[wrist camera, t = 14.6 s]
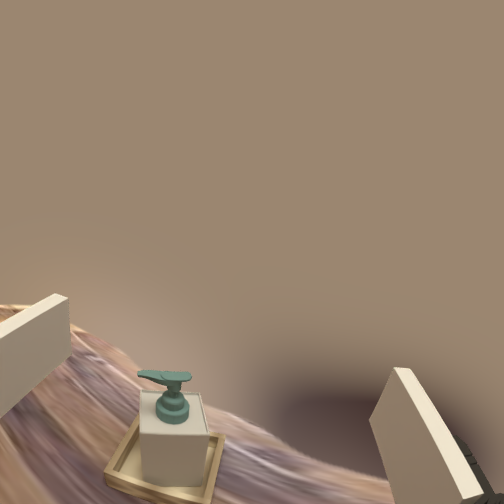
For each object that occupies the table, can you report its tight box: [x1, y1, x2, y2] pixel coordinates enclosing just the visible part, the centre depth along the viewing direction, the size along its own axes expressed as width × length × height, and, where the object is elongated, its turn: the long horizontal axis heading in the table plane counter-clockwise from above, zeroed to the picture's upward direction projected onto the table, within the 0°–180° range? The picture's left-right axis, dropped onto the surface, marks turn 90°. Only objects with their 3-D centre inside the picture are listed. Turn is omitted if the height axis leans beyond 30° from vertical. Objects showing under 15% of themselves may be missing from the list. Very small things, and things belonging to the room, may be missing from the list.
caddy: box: [104, 413, 226, 504], centre depth 38 cm, size 15×15×4 cm
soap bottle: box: [137, 370, 210, 486], centre depth 36 cm, size 9×9×19 cm
